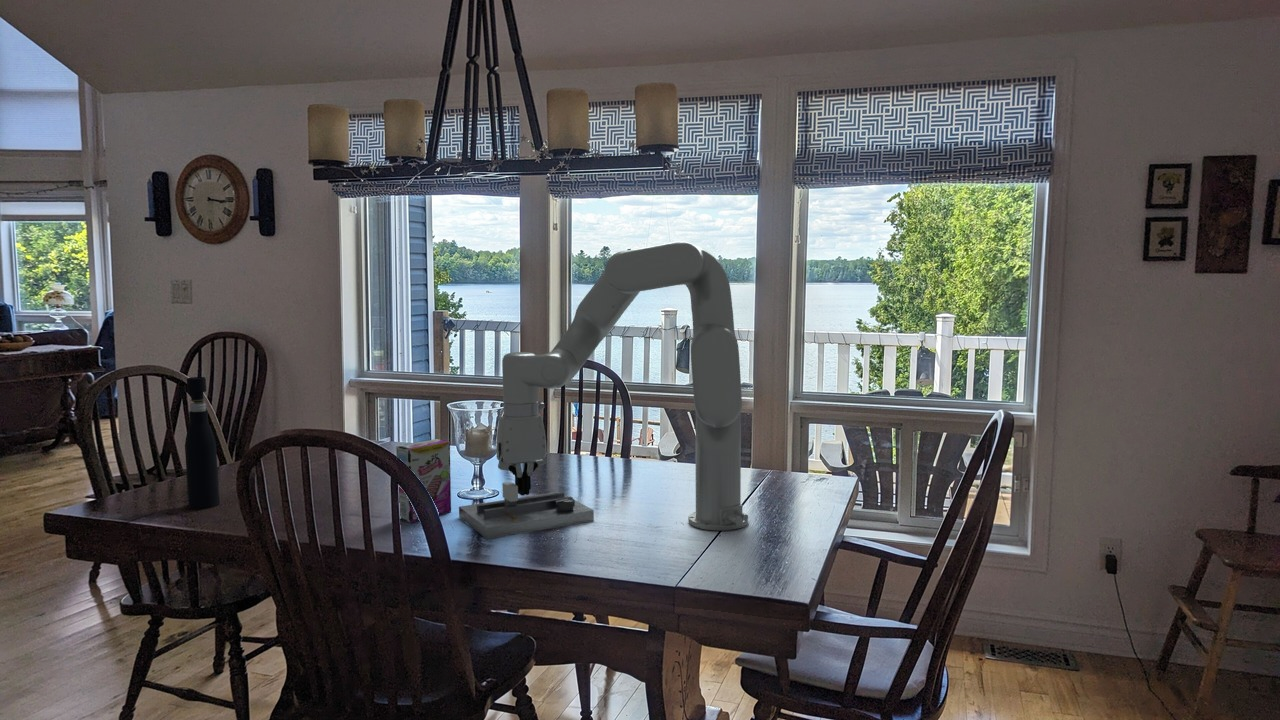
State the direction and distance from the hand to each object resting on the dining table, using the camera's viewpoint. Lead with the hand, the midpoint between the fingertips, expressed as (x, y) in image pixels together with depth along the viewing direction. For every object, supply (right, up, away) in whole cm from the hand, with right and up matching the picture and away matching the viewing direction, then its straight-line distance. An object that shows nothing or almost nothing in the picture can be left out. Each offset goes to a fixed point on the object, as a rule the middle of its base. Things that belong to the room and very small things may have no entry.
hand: (523, 493), depth 184 cm
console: (0, -6, +1) cm, 6 cm away
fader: (-3, -3, -1) cm, 4 cm away
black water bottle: (-76, -5, +14) cm, 78 cm away
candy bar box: (-22, -6, +4) cm, 23 cm away
